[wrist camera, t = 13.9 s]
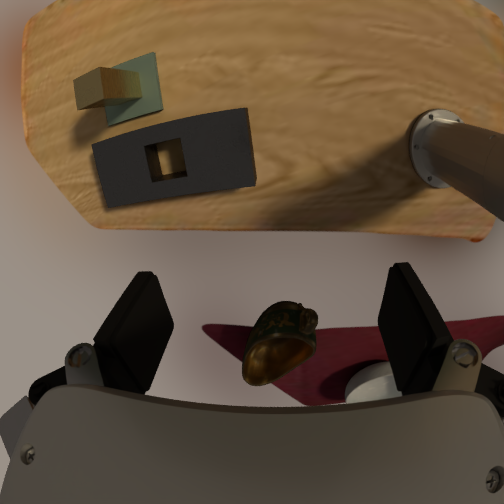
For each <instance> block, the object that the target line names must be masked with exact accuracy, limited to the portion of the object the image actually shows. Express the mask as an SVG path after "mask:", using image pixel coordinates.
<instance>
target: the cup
mask: <svg viewBox="0 0 504 504" xmlns="http://www.w3.org/2000/svg"><path fill="white" fill-rule="evenodd" d="M317 324H318V315H317V313H316V312H315V311H314V310H312V309H308V308H307V309H306V308H304V307H303V306H302V304H301V303H299V304H297V303H295V302H291V301H281V302H277V303H275V304H273V305H271V306H270V307H268V308H267V309H266V310H265V311H264V312H263V313H262V315H261V316H260V317H259V319H258V320H257V322H256V324H255V325H254V327H253V329H252V331H251V333H250V335H249V338H248V340H247V344H246V347H245V351H244V356H243V363H242V376H243V379H244V380H245V381H246V382H247V383H248V384H249V385H252V386H262V385H266V384H269V383H272V382H274V381H276V380H278V379H280V378H281V377H283V376H284V375H286V374H287V373H289V372H290V371H292V370H293V369H294V368H296V367H297V366H299V365H300V364H302V363H304V362H305V361H307V360H308V359H310V358H311V357H312V356H313V355H314V353H315V351H316V333H315V328H316V326H317Z"/></svg>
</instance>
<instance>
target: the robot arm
mask: <svg viewBox="0 0 504 504" xmlns="http://www.w3.org/2000/svg"><path fill="white" fill-rule="evenodd" d="M414 145H415V147H414ZM409 150H410V157H411V161H412V164H413V166H414V169H415V171H416V172H417V174H418V175H419V176H420V177H421V178H422V179H423V180H424V181H425V182H426V183H428V184H430V185H431V186H433V187H437V188H448V187H453V188H455V189H456V190H458V191H459V192H461V193H463V194H464V195H466V196H467V197H469V198H470V199H472V200H473V201H475V202H476V203H478V204H479V205H480V206H482V207H483V208H485V209H486V210H488V211H489V212H490V213H492V214H493V215H495V216H496V217H498V218H499V219H500V220H502V221H503V222H504V134H501V133H498V132H495V131H491V130H488V129H484V128H480V127H477V126H473V125H469V124H465V123H464V122H463V121H462V120H461V119H460V118H459V117H458V116H457V115H456V114H454V113H453V112H451V111H448V110H445V109H432V110H429V111H427V112H425V113H424V114H422V115H421V116H420V117H419V118H418V119H417V121H416V123H415V124H414V126H413V129H412V131H411V135H410V142H409ZM378 326H379V329H380V332H381V336H382V339H383V342H384V345H385V348H386V352H387V355H388V358H389V362H390V365H391V369H392V373H393V376H394V380H395V384H396V388H397V390H398V391H399V392H400V391H401V393H402V396H400V397H394V398H387V399H380V400H373V401H365V402H357V403H348V404H338V405H325V406H306V407H247V406H228V405H216V404H206V403H196V402H188V401H180V400H173V399H167V398H160V397H154V396H149V395H145V392H146V391H148V390H149V389H150V387H151V384H152V381H153V379H154V376H155V374H156V371H157V369H158V366H159V364H160V361H161V359H162V356H163V353H164V351H165V349H166V346H167V343H168V341H169V339H170V336H171V334H172V331H173V329H174V323H173V319H172V317H171V314H170V311H169V309H168V306H167V303H166V301H165V298H164V295H163V292H162V289H161V286H160V283H159V281H158V278H157V276H156V275H154V274H153V273H152V272H151V271H149V272H148V271H145V272H143V271H142V272H138V273H137V274H136V275H135V277H134V278H133V280H132V281H131V282H130V284H129V285H128V287H127V288H126V290H125V291H124V293H123V294H122V296H121V297H120V298H119V300H118V301H117V303H116V304H115V306H114V308H113V309H112V310H111V312H110V313H109V315H108V317H107V318H106V319H105V321H104V323H103V324H102V326H101V327H100V329H99V331H98V332H97V334H96V335H95V337H94V338H93V340H94V342H95V343H94V345H93V346H92V345H91V344H89V343H81V344H78V345H76V346H74V347H73V348H71V349H70V351H69V352H68V353H67V355H66V357H65V366H63V367H61V368H59V369H57V370H55V371H53V372H51V373H49V374H47V375H45V376H43V377H41V378H39V379H37V380H36V381H35V382H34V383H33V384H32V385H31V387H30V389H29V397H27V396H24V397H23V398H22V399H21V400H20V401H19V402H17V403H16V404H15V405H14V406H13V407H12V408H11V409H9V410H8V411H7V412H6V413H5V414H4V415H3V416H2V417H1V418H0V435H1V437H2V440H3V443H4V445H5V448H6V450H7V453H8V455H9V457H10V463H9V466H8V468H7V472H6V475H5V478H4V482H3V486H2V490H1V494H0V504H504V374H502V373H500V372H498V371H496V370H494V369H492V368H490V367H488V366H486V365H484V364H483V363H482V355H481V352H480V350H479V348H478V347H477V346H476V345H475V344H474V343H472V342H471V341H469V340H465V339H458V340H455V341H454V340H453V338H452V336H451V334H450V332H449V330H448V328H447V326H446V324H445V322H444V321H443V319H442V317H441V315H440V313H439V311H438V310H437V308H436V306H435V304H434V303H433V301H432V299H431V297H430V296H429V295H428V293H427V291H426V290H425V288H424V286H423V284H422V283H421V281H420V280H419V278H418V276H417V275H416V273H415V272H414V270H413V269H412V267H411V265H410V264H409V263H408V262H404V263H395V264H394V265H393V267H390V268H389V273H388V278H387V282H386V287H385V291H384V295H383V300H382V304H381V308H380V312H379V316H378Z"/></svg>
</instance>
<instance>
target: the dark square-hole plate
mask: <svg viewBox="0 0 504 504" xmlns="http://www.w3.org/2000/svg"><path fill="white" fill-rule="evenodd" d="M176 138H180V139H181V144H182V150H183V155H184V160H185V165H186V170H187V171H183V172H177V173H171V174H166V175H162V171H161V166H160V162H159V157H158V152H157V147H156V143H158V142H162V141H167V140H171V139H176ZM92 149H93V154H94V158H95V162H96V166H97V170H98V174H99V178H100V182H101V185H102V189H103V193H104V196H105V199H106V203H107V206H108V208H111V207H116V206H121V205H126V204H132V203H137V202H143V201H149V200H155V199H161V198H167V197H173V196H180V195H187V194H194V193H201V192H209V191H217V190H225V189H233V188H242V187H252V186H255V185H256V180H257V176H256V168H255V160H254V153H253V145H252V137H251V130H250V122H249V115H248V108H239V109H231V110H225V111H219V112H213V113H207V114H202V115H196V116H191V117H187V118H182V119H177V120H173V121H169V122H165V123H160V124H157V125H153V126H149V127H145V128H142V129H138V130H135V131H131V132H128V133H124V134H121V135H118V136H115V137H112V138H109V139H106V140H103V141H100V142H97V143H94V144H92Z"/></svg>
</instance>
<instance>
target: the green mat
mask: <svg viewBox="0 0 504 504" xmlns="http://www.w3.org/2000/svg"><path fill="white" fill-rule="evenodd" d="M112 68H114V69H121V70H128V71H134V72H139V78H140V85H141V91H142V98H139V99H136V100H133V101H130V102H127V103H124V104H121V105H117V106H107V107H105V111H106V116H107V122H108V126H110V125H113V124H116V123H119V122H122V121H125V120H128V119H132V118H135V117H138V116H141V115H145V114H148V113H152V112H156V111H159V110H163V104H162V98H161V91H160V85H159V78H158V71H157V63H156V56H155V53H154V52H152V53H149V54H146V55H143V56H140V57H137V58H134V59H132V60H129V61H127V62H124V63H121V64H119V65H116V66H114V67H112Z"/></svg>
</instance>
